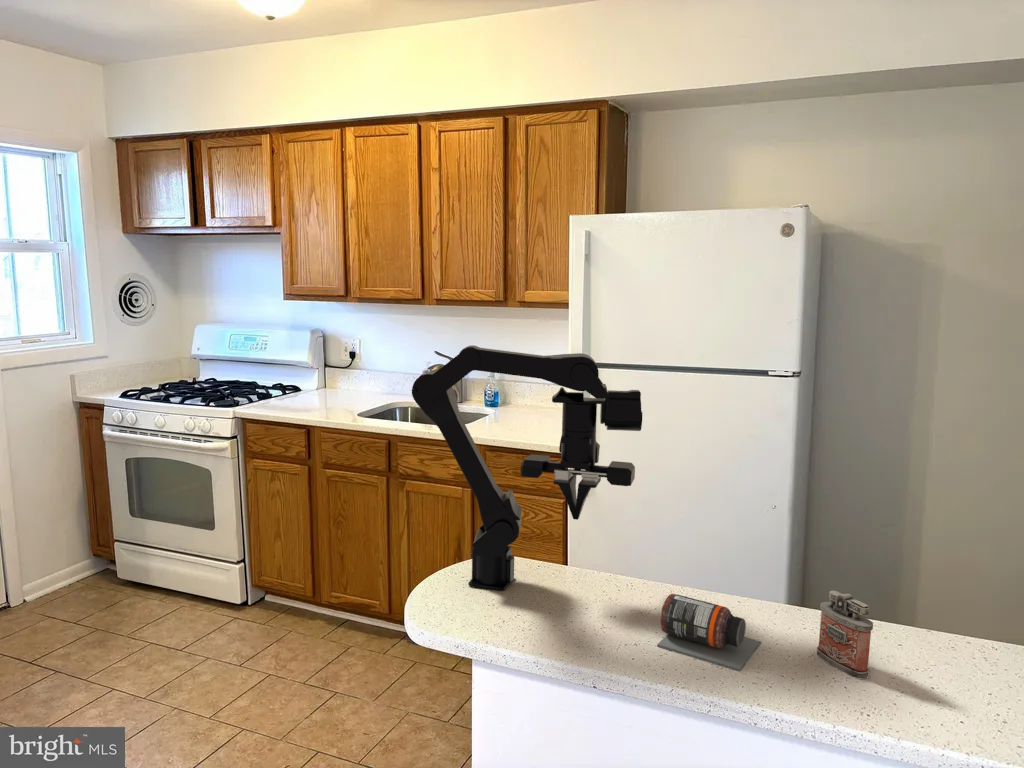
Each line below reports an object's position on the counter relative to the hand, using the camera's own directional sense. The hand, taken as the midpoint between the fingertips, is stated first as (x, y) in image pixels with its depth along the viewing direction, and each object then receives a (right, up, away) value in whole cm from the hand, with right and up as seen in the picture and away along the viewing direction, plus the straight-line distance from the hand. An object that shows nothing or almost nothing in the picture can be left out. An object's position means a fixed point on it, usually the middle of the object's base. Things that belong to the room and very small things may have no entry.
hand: (576, 518), depth 129 cm
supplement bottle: (+12, -11, -16) cm, 23 cm away
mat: (+18, -15, -19) cm, 30 cm away
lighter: (+35, -16, -24) cm, 45 cm away
